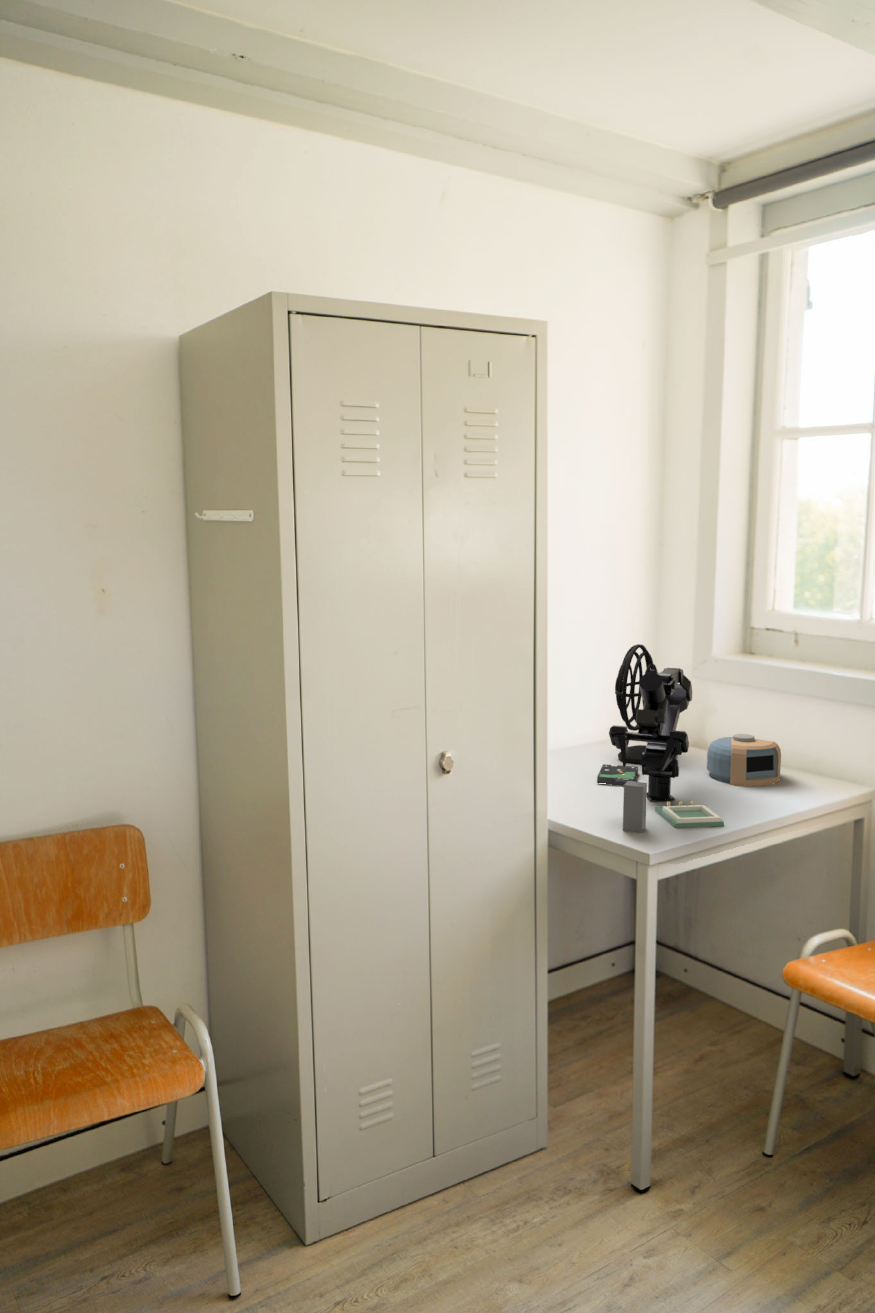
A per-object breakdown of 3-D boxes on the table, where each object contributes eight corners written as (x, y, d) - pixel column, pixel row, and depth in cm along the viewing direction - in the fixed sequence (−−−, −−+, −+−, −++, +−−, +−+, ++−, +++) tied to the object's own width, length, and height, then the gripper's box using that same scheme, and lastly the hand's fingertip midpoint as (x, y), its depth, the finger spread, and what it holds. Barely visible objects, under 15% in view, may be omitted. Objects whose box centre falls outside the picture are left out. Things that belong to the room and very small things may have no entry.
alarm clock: (734, 789, 260) (736, 745, 258) (693, 771, 278) (694, 730, 277) (793, 783, 266) (795, 740, 264) (748, 766, 284) (750, 726, 283)
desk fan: (629, 745, 311) (632, 639, 307) (683, 751, 303) (687, 642, 298) (603, 763, 288) (605, 648, 283) (660, 770, 279) (664, 651, 275)
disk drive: (602, 773, 278) (596, 785, 264) (602, 764, 278) (597, 776, 264) (638, 775, 276) (634, 788, 261) (638, 766, 275) (635, 778, 261)
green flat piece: (654, 810, 239) (655, 800, 239) (700, 808, 241) (701, 799, 240) (675, 827, 226) (675, 817, 225) (723, 825, 227) (724, 815, 227)
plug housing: (626, 825, 227) (627, 780, 226) (645, 828, 225) (646, 782, 224) (622, 830, 223) (623, 784, 222) (641, 833, 222) (643, 787, 220)
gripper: (611, 693, 236) (599, 746, 227) (688, 698, 228) (678, 753, 220) (618, 718, 244) (606, 770, 235) (692, 725, 236) (683, 778, 228)
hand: (642, 768), depth 229 cm, fingers open, 9 cm apart
